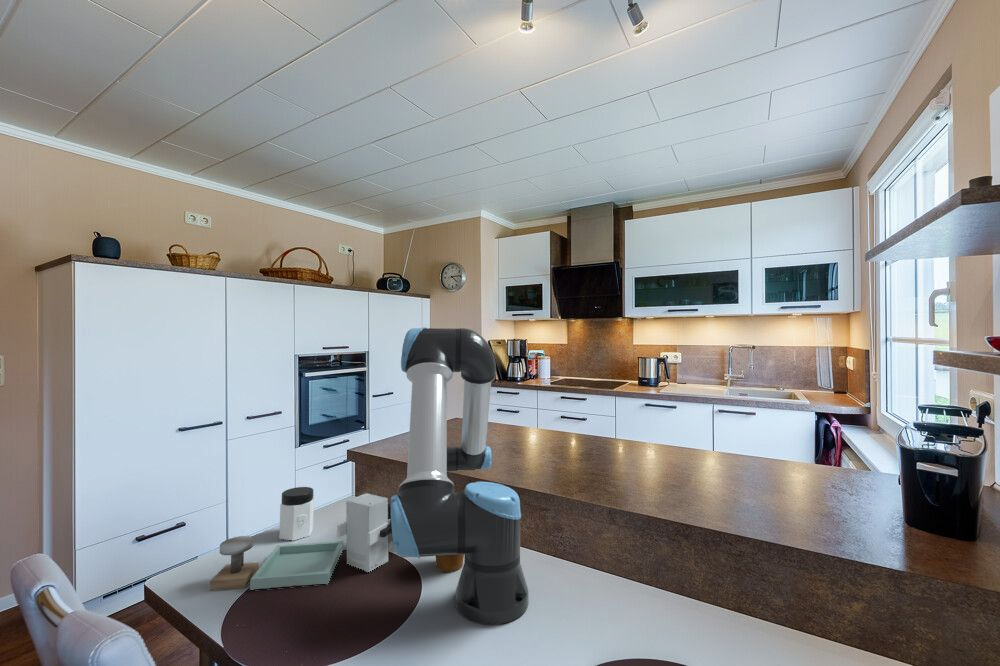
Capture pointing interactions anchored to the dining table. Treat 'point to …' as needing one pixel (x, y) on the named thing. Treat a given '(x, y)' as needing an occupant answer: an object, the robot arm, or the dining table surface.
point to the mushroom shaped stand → (235, 565)
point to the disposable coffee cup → (449, 562)
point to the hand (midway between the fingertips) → (353, 535)
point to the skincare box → (366, 531)
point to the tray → (298, 565)
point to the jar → (296, 513)
